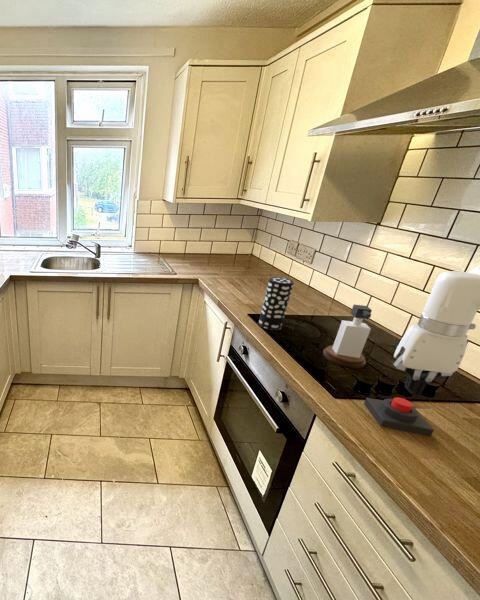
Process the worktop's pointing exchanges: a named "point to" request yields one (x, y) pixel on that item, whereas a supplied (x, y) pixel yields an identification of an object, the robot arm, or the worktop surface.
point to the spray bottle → (351, 337)
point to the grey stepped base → (397, 417)
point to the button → (402, 404)
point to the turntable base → (342, 363)
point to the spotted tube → (275, 303)
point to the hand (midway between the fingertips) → (412, 391)
